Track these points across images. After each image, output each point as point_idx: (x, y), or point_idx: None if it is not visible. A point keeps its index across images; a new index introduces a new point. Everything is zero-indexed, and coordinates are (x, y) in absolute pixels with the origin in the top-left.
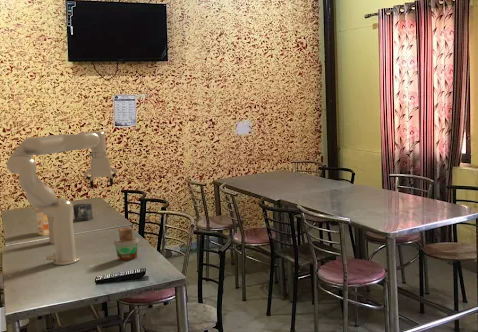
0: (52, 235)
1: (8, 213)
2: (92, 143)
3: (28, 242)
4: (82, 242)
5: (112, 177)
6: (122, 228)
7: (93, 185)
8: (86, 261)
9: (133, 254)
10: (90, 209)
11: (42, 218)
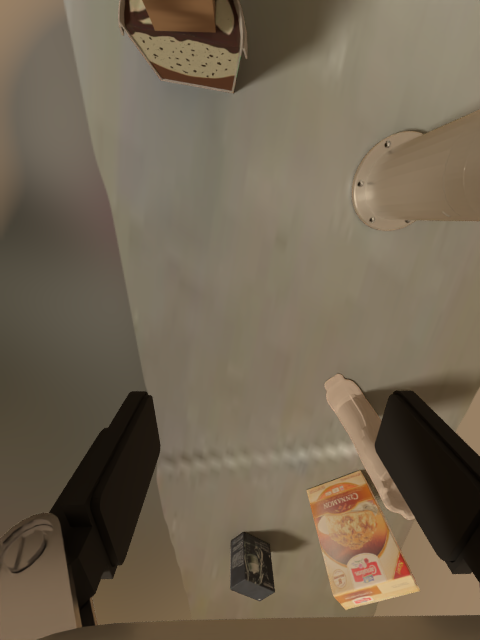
0: (375, 414)
1: None
2: None
3: None
4: (295, 371)
5: (13, 560)
6: None
7: (419, 424)
8: (339, 137)
9: None
10: (234, 568)
11: (383, 519)
